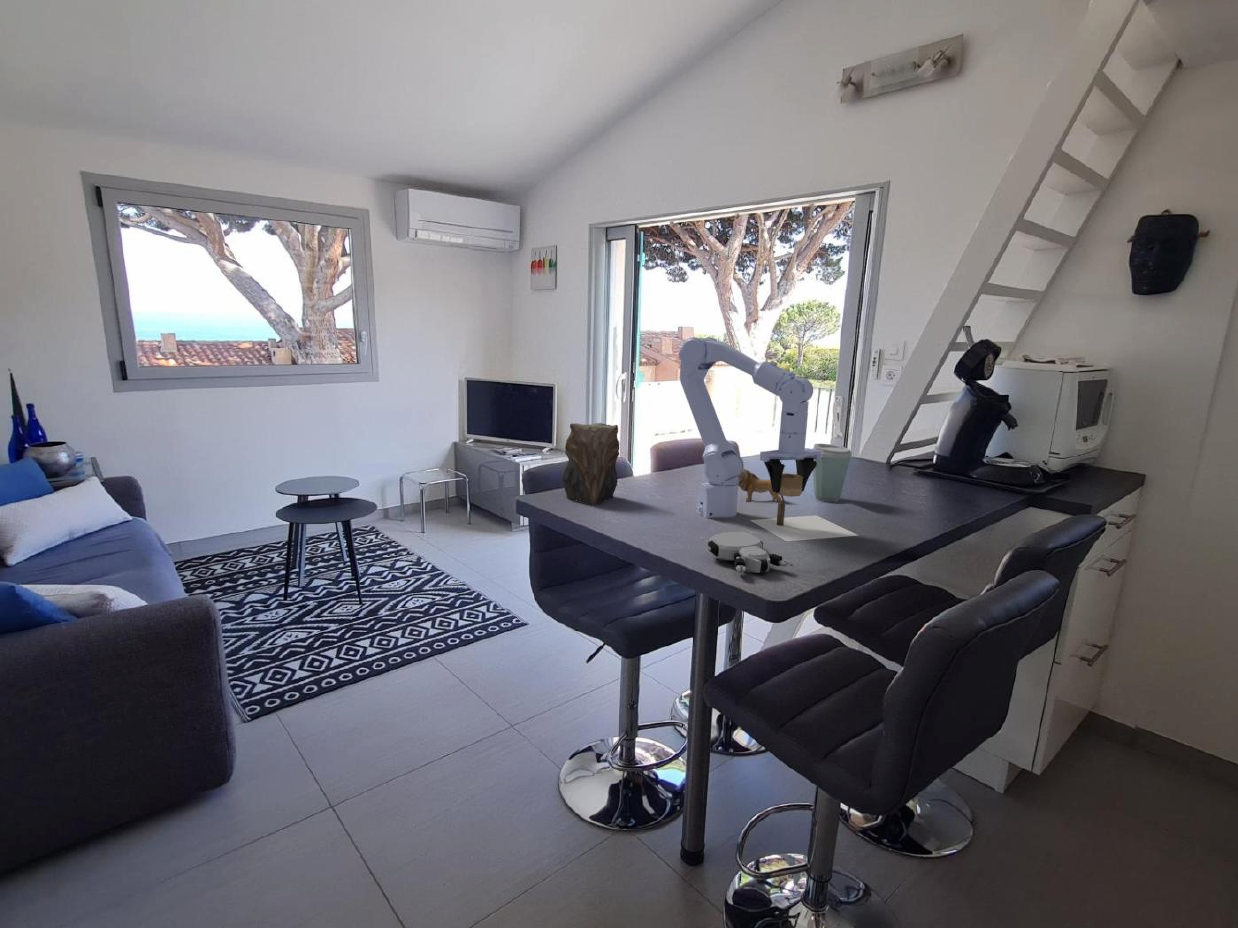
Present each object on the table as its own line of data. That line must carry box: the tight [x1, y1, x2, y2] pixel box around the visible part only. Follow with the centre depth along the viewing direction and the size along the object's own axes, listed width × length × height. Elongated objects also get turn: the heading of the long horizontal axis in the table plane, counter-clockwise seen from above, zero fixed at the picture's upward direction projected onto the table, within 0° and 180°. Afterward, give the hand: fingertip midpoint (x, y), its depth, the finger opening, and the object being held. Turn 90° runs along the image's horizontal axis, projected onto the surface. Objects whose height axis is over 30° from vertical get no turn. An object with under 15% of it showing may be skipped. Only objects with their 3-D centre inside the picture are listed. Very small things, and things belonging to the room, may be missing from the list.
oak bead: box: [774, 472, 803, 498], centre depth 144 cm, size 6×6×4 cm
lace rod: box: [776, 501, 786, 526], centre depth 146 cm, size 2×2×6 cm
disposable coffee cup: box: [811, 443, 852, 503], centre depth 174 cm, size 11×11×15 cm
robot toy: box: [700, 531, 790, 574], centre depth 124 cm, size 12×4×15 cm
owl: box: [561, 422, 620, 506], centre depth 170 cm, size 13×13×20 cm
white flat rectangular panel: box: [750, 514, 859, 542], centre depth 145 cm, size 18×16×1 cm
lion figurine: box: [738, 468, 786, 503], centre depth 169 cm, size 15×5×9 cm, turn 72°
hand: (787, 491), depth 144 cm, fingers closed on oak bead, 6 cm apart
